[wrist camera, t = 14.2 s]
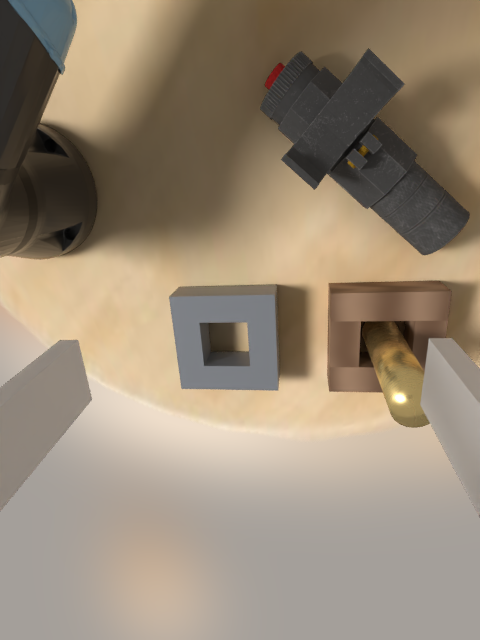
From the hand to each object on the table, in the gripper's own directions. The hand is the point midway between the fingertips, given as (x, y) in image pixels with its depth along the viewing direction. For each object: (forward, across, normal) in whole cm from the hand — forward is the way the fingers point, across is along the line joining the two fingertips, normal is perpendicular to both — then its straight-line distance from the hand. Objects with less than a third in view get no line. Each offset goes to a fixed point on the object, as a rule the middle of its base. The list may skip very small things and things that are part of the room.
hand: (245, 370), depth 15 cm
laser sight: (+32, +9, +7) cm, 34 cm away
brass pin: (+31, +12, -12) cm, 36 cm away
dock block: (+31, +12, -12) cm, 36 cm away
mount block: (+32, -6, -12) cm, 35 cm away
